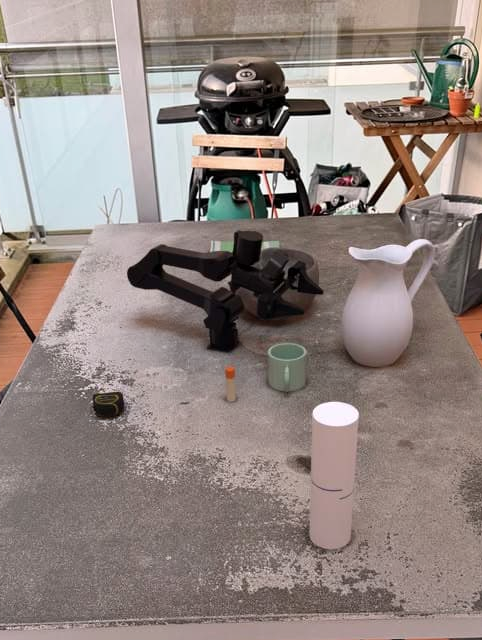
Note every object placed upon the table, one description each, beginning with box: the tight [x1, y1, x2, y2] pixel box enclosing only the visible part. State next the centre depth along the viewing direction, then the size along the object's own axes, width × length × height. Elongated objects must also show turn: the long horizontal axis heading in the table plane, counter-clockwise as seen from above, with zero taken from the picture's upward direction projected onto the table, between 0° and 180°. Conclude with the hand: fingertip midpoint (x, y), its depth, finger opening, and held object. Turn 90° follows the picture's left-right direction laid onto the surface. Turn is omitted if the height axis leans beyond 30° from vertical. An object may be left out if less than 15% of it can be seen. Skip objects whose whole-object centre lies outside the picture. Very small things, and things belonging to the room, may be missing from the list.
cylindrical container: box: [308, 401, 360, 550], centre depth 121 cm, size 7×7×25 cm
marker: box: [224, 366, 237, 403], centre depth 164 cm, size 2×2×8 cm
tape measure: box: [92, 391, 125, 417], centre depth 163 cm, size 7×7×4 cm
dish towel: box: [209, 240, 280, 252], centre depth 243 cm, size 18×23×3 cm
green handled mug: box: [267, 342, 307, 393], centre depth 169 cm, size 12×9×8 cm
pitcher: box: [341, 238, 436, 368], centre depth 175 cm, size 24×17×28 cm
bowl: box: [235, 246, 320, 321], centre depth 201 cm, size 24×24×15 cm
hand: (314, 302), depth 168 cm, fingers open, 9 cm apart
